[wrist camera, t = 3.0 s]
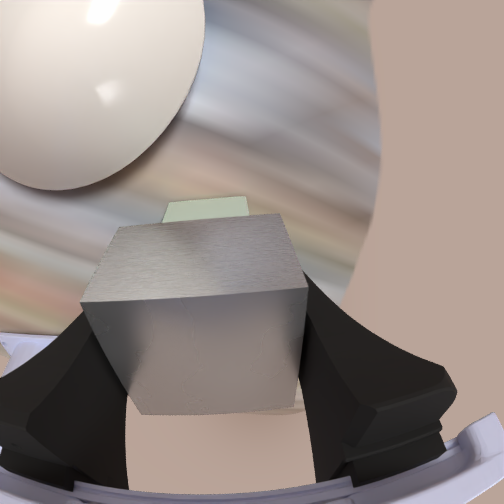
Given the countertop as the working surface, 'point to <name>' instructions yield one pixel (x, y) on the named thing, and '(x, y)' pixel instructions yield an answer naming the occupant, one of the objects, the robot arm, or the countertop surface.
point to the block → (206, 209)
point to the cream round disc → (91, 83)
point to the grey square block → (201, 314)
